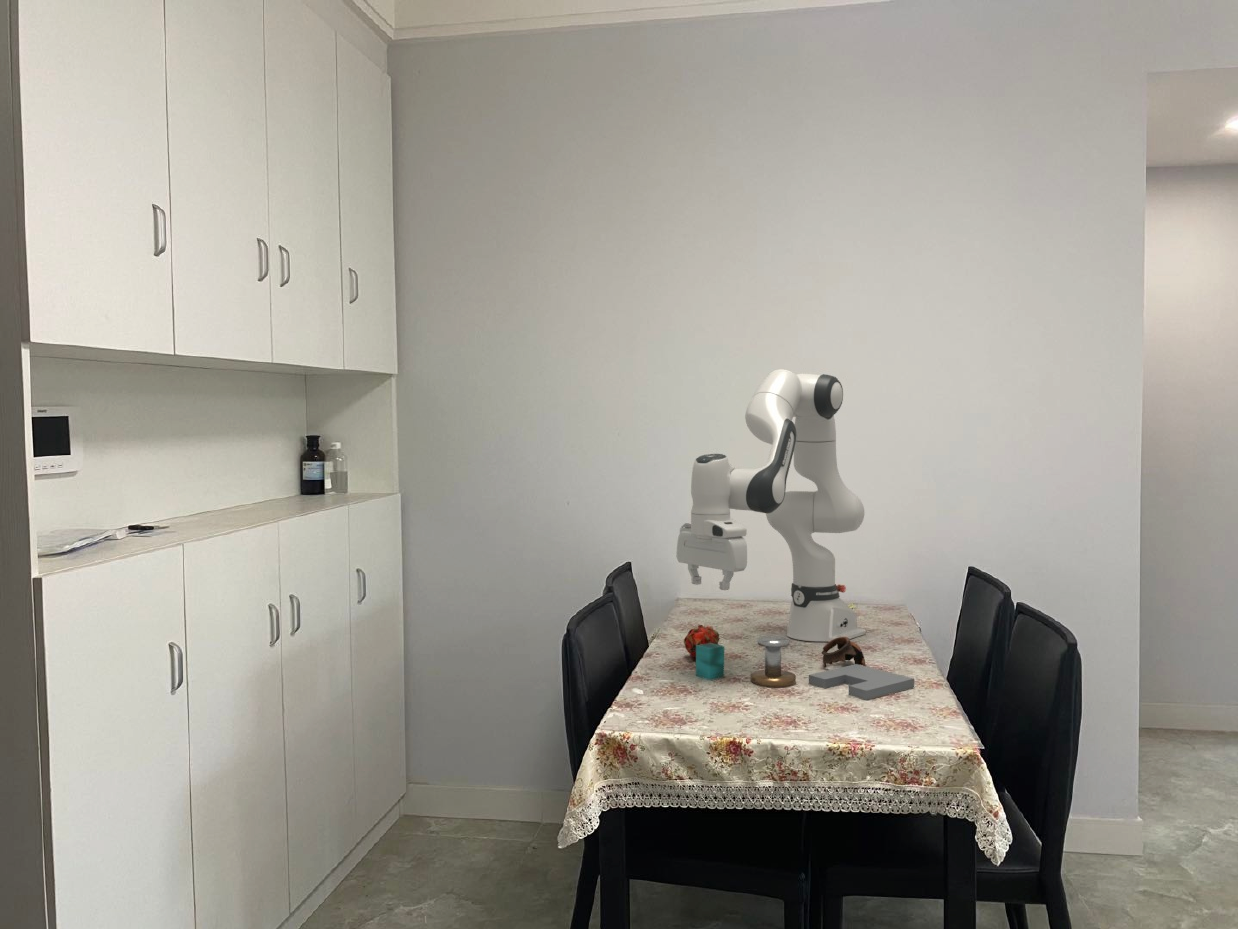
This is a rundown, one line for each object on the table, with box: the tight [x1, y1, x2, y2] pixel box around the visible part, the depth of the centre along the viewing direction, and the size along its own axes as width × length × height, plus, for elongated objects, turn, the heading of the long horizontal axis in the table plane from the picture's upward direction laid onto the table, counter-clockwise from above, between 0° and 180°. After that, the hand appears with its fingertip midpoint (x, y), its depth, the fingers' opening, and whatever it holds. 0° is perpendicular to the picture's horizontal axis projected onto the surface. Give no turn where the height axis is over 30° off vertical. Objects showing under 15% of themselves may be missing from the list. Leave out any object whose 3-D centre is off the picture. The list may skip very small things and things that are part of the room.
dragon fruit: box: [683, 624, 721, 661], centre depth 245 cm, size 8×8×12 cm
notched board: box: [808, 663, 915, 701], centre depth 219 cm, size 16×16×2 cm
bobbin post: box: [749, 635, 797, 689], centre depth 222 cm, size 10×10×10 cm
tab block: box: [695, 643, 725, 681], centre depth 227 cm, size 4×4×7 cm
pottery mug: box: [821, 637, 867, 668], centre depth 236 cm, size 12×10×8 cm
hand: (710, 587), depth 226 cm, fingers open, 8 cm apart
